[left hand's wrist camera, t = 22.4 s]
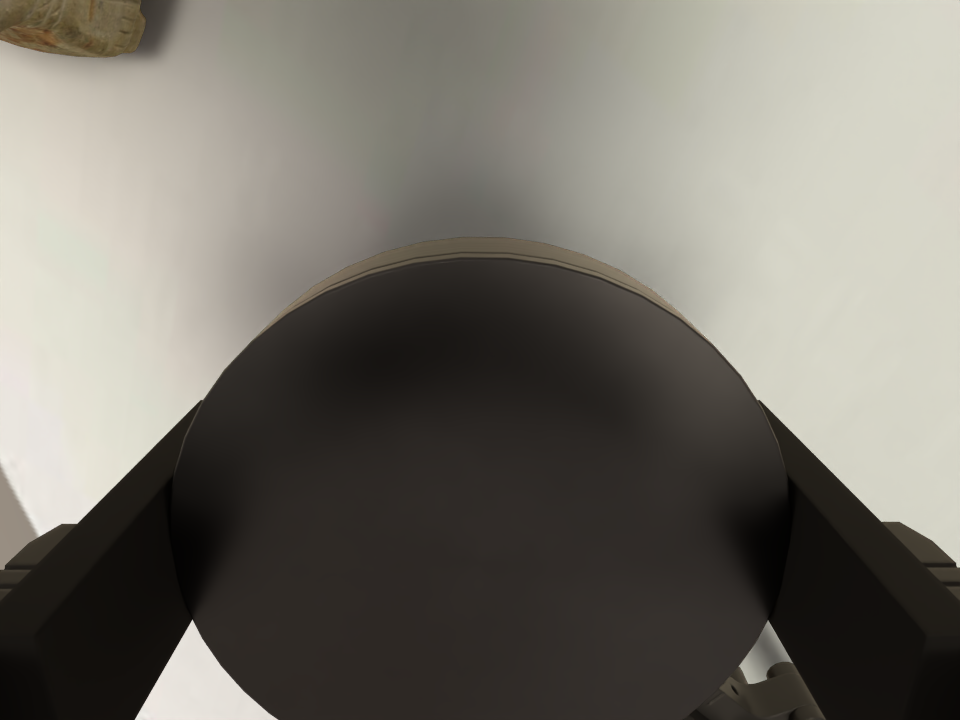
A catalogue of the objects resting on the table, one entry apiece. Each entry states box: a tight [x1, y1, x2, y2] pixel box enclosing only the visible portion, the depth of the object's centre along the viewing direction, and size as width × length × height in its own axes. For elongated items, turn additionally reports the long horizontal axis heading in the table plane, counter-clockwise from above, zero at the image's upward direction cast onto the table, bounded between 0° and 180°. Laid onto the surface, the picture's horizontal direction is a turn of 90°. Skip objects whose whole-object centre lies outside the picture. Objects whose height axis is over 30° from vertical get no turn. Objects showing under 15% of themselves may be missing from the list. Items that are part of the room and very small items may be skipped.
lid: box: [169, 237, 791, 720], centre depth 11 cm, size 10×10×2 cm
